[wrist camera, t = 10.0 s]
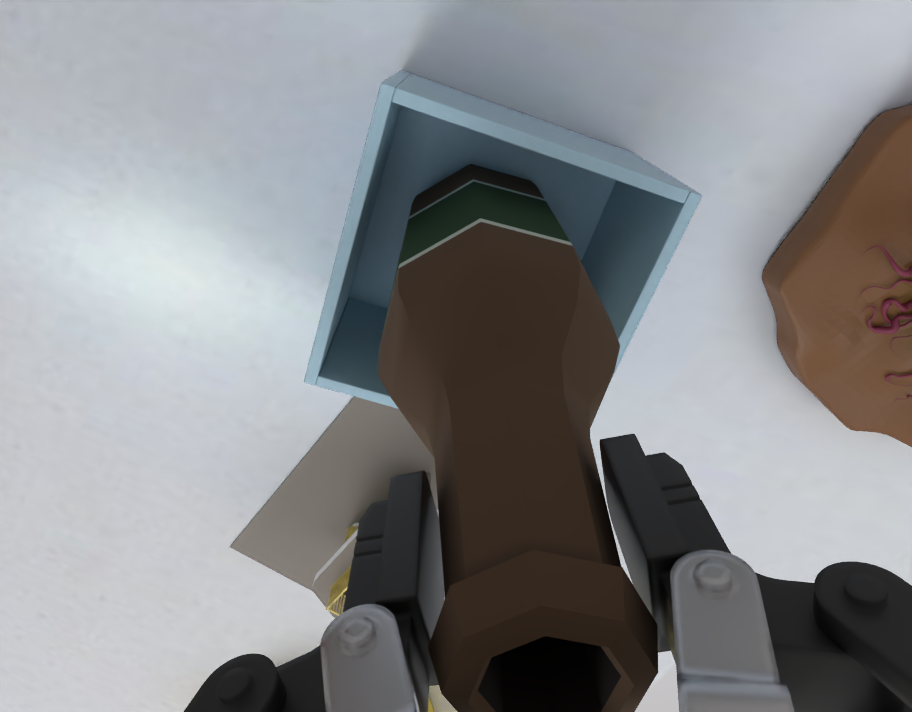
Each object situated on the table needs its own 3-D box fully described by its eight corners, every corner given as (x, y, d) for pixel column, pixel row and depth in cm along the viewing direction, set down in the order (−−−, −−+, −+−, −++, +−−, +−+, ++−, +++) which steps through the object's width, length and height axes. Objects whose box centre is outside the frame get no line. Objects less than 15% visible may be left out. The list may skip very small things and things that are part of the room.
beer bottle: (367, 256, 32) (197, 728, 10) (465, 123, 29) (520, 377, 7) (491, 343, 34) (568, 884, 12) (592, 226, 31) (922, 657, 10)
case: (339, 298, 35) (303, 382, 26) (400, 69, 30) (381, 81, 21) (544, 359, 37) (573, 457, 28) (634, 153, 32) (703, 195, 23)
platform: (229, 546, 43) (194, 628, 37) (388, 355, 37) (376, 416, 31) (377, 625, 46) (366, 711, 40) (545, 462, 40) (561, 535, 34)
